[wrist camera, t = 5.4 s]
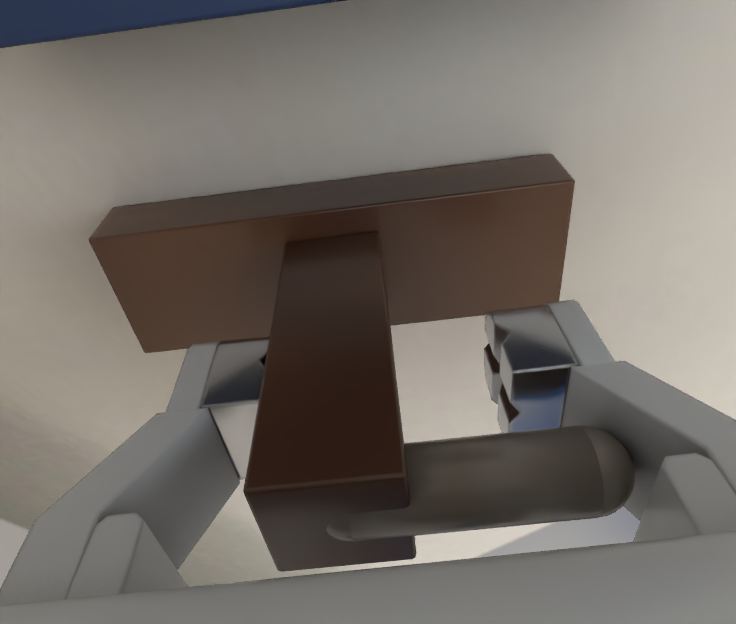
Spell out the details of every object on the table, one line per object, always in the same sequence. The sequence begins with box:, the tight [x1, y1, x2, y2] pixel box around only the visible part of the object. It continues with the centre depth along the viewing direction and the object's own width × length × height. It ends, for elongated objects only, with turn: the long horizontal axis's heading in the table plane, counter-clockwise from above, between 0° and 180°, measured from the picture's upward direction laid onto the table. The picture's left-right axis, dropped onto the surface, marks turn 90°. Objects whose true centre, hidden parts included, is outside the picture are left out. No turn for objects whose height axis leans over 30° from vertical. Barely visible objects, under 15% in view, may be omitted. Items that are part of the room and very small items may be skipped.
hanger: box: [89, 154, 635, 571], centre depth 10 cm, size 10×3×8 cm, turn 97°
